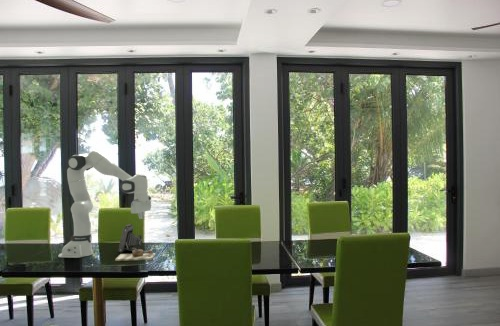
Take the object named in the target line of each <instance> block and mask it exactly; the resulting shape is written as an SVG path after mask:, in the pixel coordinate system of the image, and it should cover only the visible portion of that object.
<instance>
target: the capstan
mask: <svg viewBox="0 0 500 326" xmlns="http://www.w3.org/2000/svg"><path fill="white" fill-rule="evenodd" d="M140 249H141V248H140ZM140 249H138V250H133V251H131V252H132V253H131V254H132V256H141V255H143V254H147V253H149V254H151V253H153V250H152V249H149V250H144V249H142V250H140ZM143 250H144V251H143Z"/></svg>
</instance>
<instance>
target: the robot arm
mask: <svg viewBox="0 0 500 326" xmlns="http://www.w3.org/2000/svg"><path fill="white" fill-rule="evenodd" d="M67 164H68V168H67V170H66V173H67V174H66V175H67V183H68V187H69V193H70V195H71V196H72V199H73V201H74V202H73V203H72V205H71V207H70V212H71V215H72V222H73V235H71V237H70V241H69V242H67V243H66V244H65V245H64V246H63V247H62V249H61V253H59V254H58V258H69V259H71V258H74V259H77V258H78V259H79V258H83V257H88V256H92V255H94V251H93V245H92V240H93V239H92V233H91V232H92V231H91V230H92V228H91V227H92V226H91V225H92V224H91V220H90V213H91V212H92V210H93V208H94V204H93V202H92V199H91V197H90V194H89V191H88V187H87V183H86V177H85V171H89V170H91V169H93V168H94V169H95V170H96V171H97V172H98V173H100V174H101V175H104V176H111V177H116V178H118V179H119V180H121V183H120V188H119V189H120V191H121V192H122V193H124V194H133V195H134V197H133V199H132V202H131V203H130V214H135V215H136V214H137V216H138V219H139V220H141V219H142V220H143V219H144V217H145V216H144V215H145V212H148V211H151V209H152V196H150V195H148V186H149V185H148V178H147V176H146V175H144V174H139V173H138V174H135V175H133V176H132V175H130V174H129V173H128V172H126V171H125V170H124V169H122V168H121V167H120V166H118V165H116V163H114V162H113V161H112V160H111V159H110V158H108V157H107V155H104V154H103V153H101V152H100V151H98V150H91V151H89V153H80V154H74V155H72V156H70V157H69V158H68V159H67Z"/></svg>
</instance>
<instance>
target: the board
mask: <svg viewBox="0 0 500 326" xmlns="http://www.w3.org/2000/svg"><path fill="white" fill-rule="evenodd" d="M155 257H156V252H152V253H151V254H149V253H147V254H143V255H141V256H132V253H120V254H119V255H118V256H117V257H116V258H115V260H114V261H115V262H121V261H127V262H128V261H153V259H154V258H155Z"/></svg>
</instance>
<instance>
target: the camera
mask: <svg viewBox="0 0 500 326" xmlns="http://www.w3.org/2000/svg"><path fill="white" fill-rule="evenodd" d="M133 232H134V226H133V223H130V224H127V225H125V226H124V227H123V228H122V231H121V237H120V240H119V245H118V252H119V253H120V254H123V252H125V251H130V252H132V251H133V250H138V249H140V250H143V251H145V250H144V249H141V246H142V244H143V235H141V234H138V236H137V235H136V234H134V233H133ZM135 246H137V247H135Z"/></svg>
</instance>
